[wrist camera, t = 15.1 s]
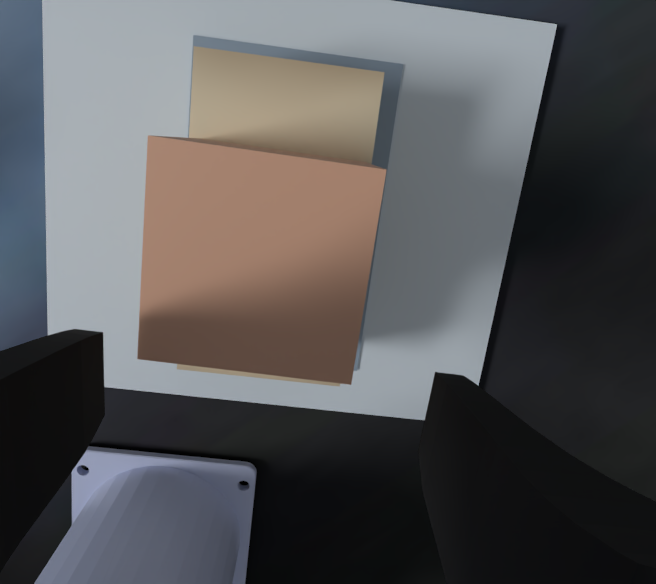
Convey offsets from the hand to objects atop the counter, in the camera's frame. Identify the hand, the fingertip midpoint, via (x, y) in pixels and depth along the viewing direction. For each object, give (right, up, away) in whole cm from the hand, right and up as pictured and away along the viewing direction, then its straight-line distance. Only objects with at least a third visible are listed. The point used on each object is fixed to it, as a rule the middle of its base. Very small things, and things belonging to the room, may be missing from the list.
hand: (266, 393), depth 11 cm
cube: (0, +4, +5) cm, 6 cm away
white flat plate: (0, +5, +9) cm, 11 cm away
